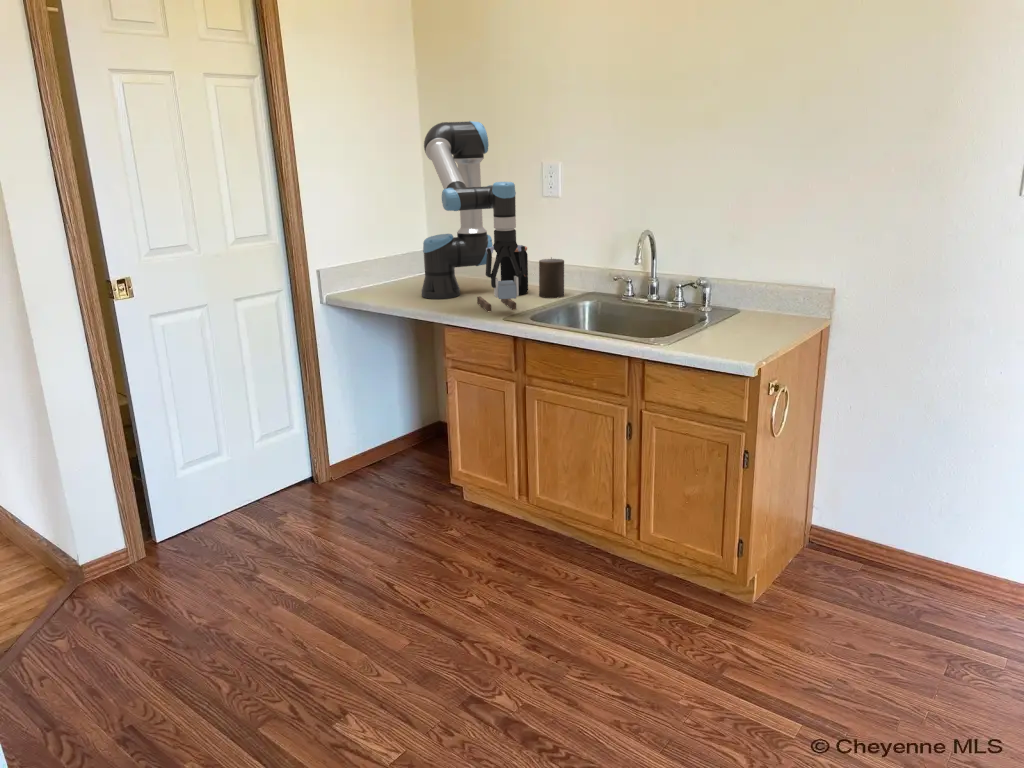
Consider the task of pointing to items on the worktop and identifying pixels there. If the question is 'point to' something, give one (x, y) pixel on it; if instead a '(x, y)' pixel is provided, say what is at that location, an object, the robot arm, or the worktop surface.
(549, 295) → the pillar candle
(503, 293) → the slate block
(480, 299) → the walnut channel
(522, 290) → the coffee jar
